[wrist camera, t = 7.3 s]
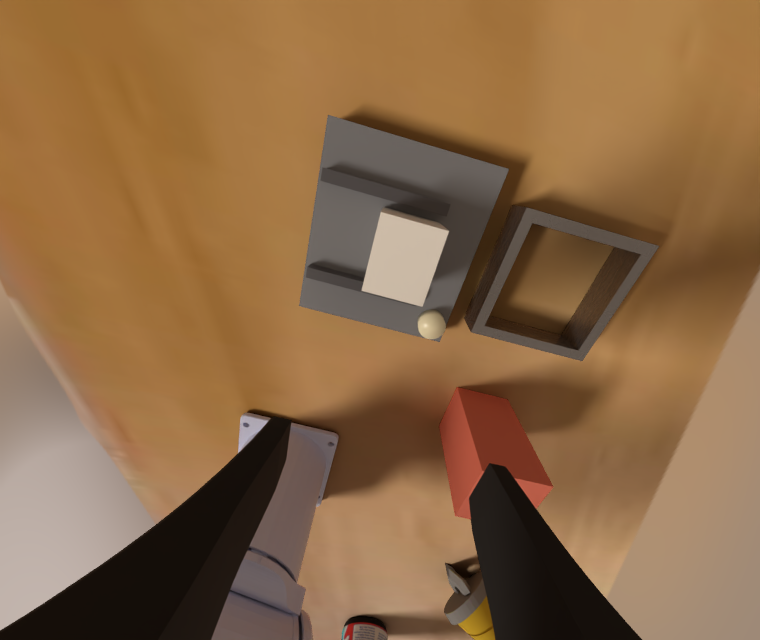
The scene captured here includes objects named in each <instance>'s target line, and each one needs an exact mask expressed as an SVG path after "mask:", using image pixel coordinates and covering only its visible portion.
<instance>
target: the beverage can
mask: <svg viewBox="0 0 760 640" xmlns="http://www.w3.org/2000/svg"><path fill="white" fill-rule="evenodd" d="M341 640H388V635H387V630H386V627H385V625H384V624H383V623H382V622H381V621H379V620H376V619H374V618H369V617H356V618H352V619H350V620H348V621H347V622H346V623H345V625H344V628H343V631H342V639H341Z"/></svg>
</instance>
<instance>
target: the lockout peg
mask: <svg viewBox="0 0 760 640" xmlns="http://www.w3.org/2000/svg"><path fill="white" fill-rule="evenodd" d="M439 428H440V434H441V440H442V445H443V451H444V456H445V462H446V468H447V473H448V479H449V484H450V490H451V496H452V501H453V507H454V512H455V516H458V517H463V518H467V519H471V516H470V505H469V497H470V495H471V494H472V492H473V490H474V488H475V487H476V485H477V483H478V482H479V480H480V478H481V476H482V475H483V473H484V471H485V470H486V468H487V466H488V465H489V463H492V464H497V465H501V466H506V468H507V469H508V470H509V472H510V473H511V474H512V476H513V477H514V479H515V480H516V481H517V483H518V484H519V486H520V487H521V488H522V490H523V491H524V493H525V494H526V495H527V497H528V498H529V500H530V501H531V502H532V504H533V505H534V507H535V508H537V507H538V506H539V505H540V503H541V502H542V501H543V500H544V498H545V497H546V496H547V494H548V493H549V492H550V491H551V489H552V488H553V485H552V483H551V481H550V479H549V478H548V476H547V474H546V472H545V470H544V468H543V466H542V464H541V462H540V460H539V458H538V457H537V455H536V453H535V451H534V449H533V447H532V445H531V443H530V441H529V439H528V437H527V435H526V434H525V432H524V430H523V428H522V426H521V424H520V422H519V420H518V418H517V416H516V414H515V413H514V411H513V409H512V407H511V405H510V403H509V401H508V399H504V398H500V397H496V396H492V395H488V394H484V393H480V392H476V391H471V390H467V389H463V388H459V387H457V388H456V390H455V392H454V394H453V397H452V399H451V401H450V403H449V405H448V407H447V410H446V412H445V414H444V416H443V418H442V420H441V422H440V425H439Z"/></svg>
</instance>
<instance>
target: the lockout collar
mask: <svg viewBox="0 0 760 640" xmlns="http://www.w3.org/2000/svg"><path fill="white" fill-rule="evenodd" d="M532 223H533V224H537V225H540V226H544V227H547V228H551V229H554V230H558V231H561V232H565V233H568V234H572V235H575V236H579V237H582V238H585V239H589V240H592V241H596V242H599V243H603V244H606V245H610V246H613V247H614V249H613V251H612V252H611V254H610V256H609V257H608V259H607V261H606V262H605V264H604V265H603V267H602V269H601V270H600V272H599V274H598V275H597V277H596V279H595V280H594V282H593V284H592V285H591V287H590V289H589V290H588V292H587V294H586V295H585V297H584V299H583V300H582V302H581V304H580V305H579V307H578V308H577V310H576V312H575V313H574V315H573V317H572V318H571V320H570V322H569V323H568V325H567V327H566V328H565V330H564V332H563V333H562V335H559V334H555V333H551V332H548V331H544V330H540V329H536V328H533V327H529V326H525V325H521V324H517V323H514V322H510V321H506V320H502V319H499V318H495V317H491V316H489V315H490V313H491V311H492V309H493V307H494V304H495V302H496V300H497V298H498V296H499V294H500V292H501V289H502V287H503V285H504V283H505V281H506V279H507V277H508V274H509V272H510V270H511V268H512V266H513V264H514V262H515V259H516V257H517V255H518V253H519V251H520V249H521V247H522V244H523V242H524V240H525V238H526V236H527V234H528V232H529V229H530V227H531V225H532ZM658 247H659V246H657V245H654V244H650V243H647V242H644V241H640V240H637V239H633V238H630V237H626V236H623V235H620V234H616V233H613V232H609V231H606V230H602V229H599V228H596V227H592V226H589V225H585V224H582V223H578V222H575V221H572V220H568V219H565V218H561V217H558V216H555V215H551V214H548V213H544V212H541V211H537V210H534V209H531V208H527V207H521V206H515V205H512V207H511V209H510V211H509V214H508V216H507V218H506V221H505V223H504V225H503V228H502V230H501V232H500V235H499V237H498V239H497V242H496V244H495V246H494V249H493V251H492V253H491V256H490V258H489V261H488V263H487V265H486V268H485V270H484V272H483V275H482V277H481V279H480V282H479V284H478V286H477V289H476V291H475V293H474V296H473V298H472V300H471V303H470V305H469V307H468V310H467V312H466V314H465V317H464V319H465V321H466V323H467V325H468V327H469V329H470V331H471V332H472V333H476V334H480V335H484V336H488V337H492V338H495V339H499V340H503V341H507V342H511V343H515V344H518V345H522V346H526V347H530V348H534V349H538V350H541V351H545V352H549V353H553V354H557V355H561V356H564V357H568V358H572V359H576V360H580V361H583V359H584V358H585V356H586V355H587V353H588V352H589V350H590V349H591V347H592V346H593V344H594V343H595V341H596V340H597V338H598V337H599V335H600V334H601V332H602V331H603V329H604V328H605V326H606V325H607V323H608V322H609V320H610V319H611V318H612V316H613V315H614V313H615V312H616V310H617V309H618V307H619V306H620V304H621V303H622V301H623V300H624V298H625V297H626V295H627V294H628V292H629V291H630V289H631V288H632V286H633V285H634V283H635V282H636V280H637V279H638V277H639V276H640V274H641V273H642V271H643V270H644V268H645V267H646V265H647V264H648V262H649V261H650V259H651V258H652V256H653V255H654V253H655V252H656V250H657V249H658Z"/></svg>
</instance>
